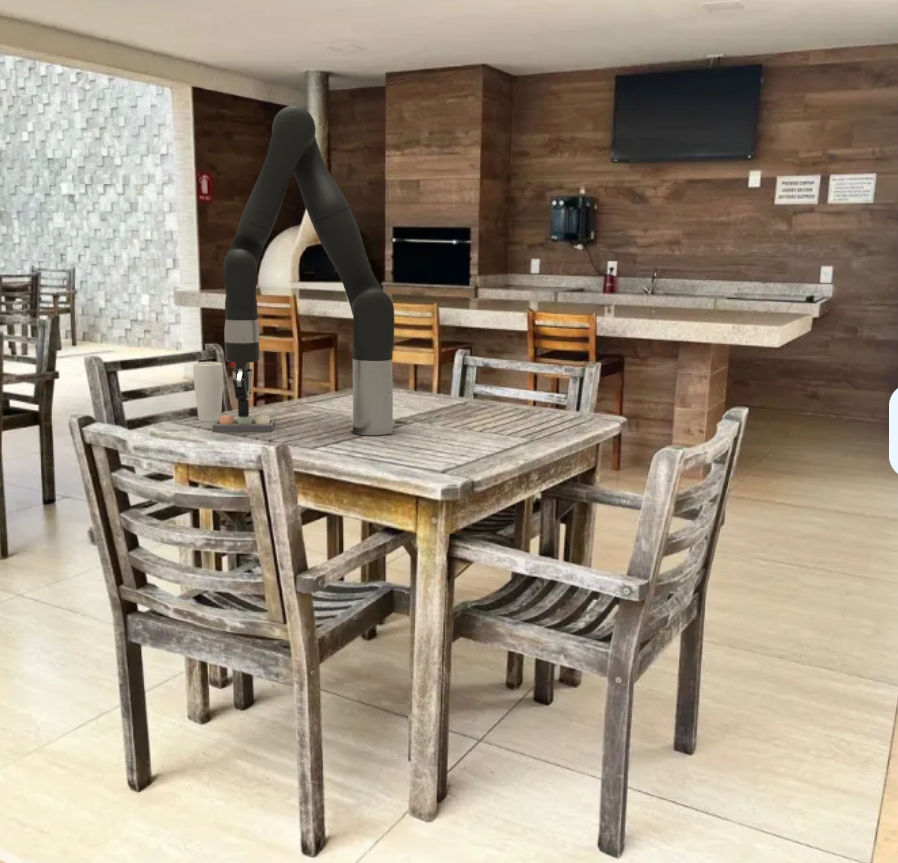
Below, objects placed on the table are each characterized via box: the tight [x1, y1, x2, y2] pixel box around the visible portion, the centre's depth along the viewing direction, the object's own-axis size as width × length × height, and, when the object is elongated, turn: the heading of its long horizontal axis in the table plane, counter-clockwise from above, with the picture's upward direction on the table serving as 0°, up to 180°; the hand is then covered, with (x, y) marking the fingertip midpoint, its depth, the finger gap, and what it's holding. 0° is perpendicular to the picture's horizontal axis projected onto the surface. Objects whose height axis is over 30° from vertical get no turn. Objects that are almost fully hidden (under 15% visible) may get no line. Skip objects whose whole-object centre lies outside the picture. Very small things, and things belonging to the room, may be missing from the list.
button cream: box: [254, 414, 271, 424], centre depth 203 cm, size 3×3×4 cm
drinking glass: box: [192, 361, 224, 422], centre depth 213 cm, size 7×7×15 cm
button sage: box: [237, 414, 253, 424], centre depth 203 cm, size 3×3×4 cm
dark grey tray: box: [212, 418, 276, 433], centre depth 203 cm, size 13×8×3 cm, turn 95°
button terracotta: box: [219, 414, 235, 424], centre depth 203 cm, size 3×3×4 cm
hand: (243, 416), depth 203 cm, fingers closed
